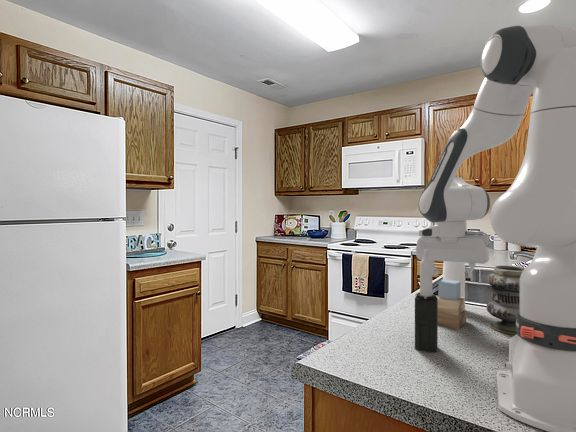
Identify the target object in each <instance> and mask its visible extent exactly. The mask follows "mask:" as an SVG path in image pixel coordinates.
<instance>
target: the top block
mask: <svg viewBox="0 0 576 432" xmlns="http://www.w3.org/2000/svg"><path fill="white" fill-rule="evenodd" d="M436 297H437V298H438V295H436ZM463 311H464V297H461V298H459V299H458V300H456V301H454V300H447V299H441V298H438V312H441V313H446V314H452V315H457V316H458V315H459V314H460V313H462V312H463Z"/></svg>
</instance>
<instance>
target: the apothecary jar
mask: <svg viewBox="0 0 576 432" xmlns="http://www.w3.org/2000/svg"><path fill="white" fill-rule="evenodd" d="M525 268H526V267H523V266H519V265H508V264H507V265H503V264H501V265H500V264H499V265H495V266H494V267H493V271H492V273H490V274H489V275H488V276H487V279H486V280H487V283H488V284H489V285H490V286H491V298H490V299H491V300H489V301H488V302H487V303H486V306H485V307H486V311H487V312H488V313H489V314H490V315H491V316H493V317H494V318H496V319H498V320H499V321H495V322H492V323H490V325H489V326H490V328H491V329H493V330H495V331H497V332H500V333H502V334H507V335H513V336H515V335H516V334H517V333H516V320H517V313H519V311H520V276H521V273H522V272H523V270H524V269H525Z"/></svg>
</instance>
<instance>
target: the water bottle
mask: <svg viewBox="0 0 576 432" xmlns="http://www.w3.org/2000/svg"><path fill="white" fill-rule="evenodd" d="M442 262H443V263H442V264H443V266H442V280H443V279H446V280H454V281H461V297H464V310H466V290H465V289H466V288H465V287H466V278H465V272H466V263H465V262H450V261H442Z"/></svg>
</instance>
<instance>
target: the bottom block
mask: <svg viewBox="0 0 576 432" xmlns="http://www.w3.org/2000/svg"><path fill="white" fill-rule="evenodd" d="M466 323H467V309H465V310H464V311H463V312H462V313H460V314H459V315H458V316H457V315H452V314H446V313H441V312H438V325H439V326H443V327H447V328H453V329H460V328H461V327H462V326H464V324H466Z"/></svg>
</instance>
